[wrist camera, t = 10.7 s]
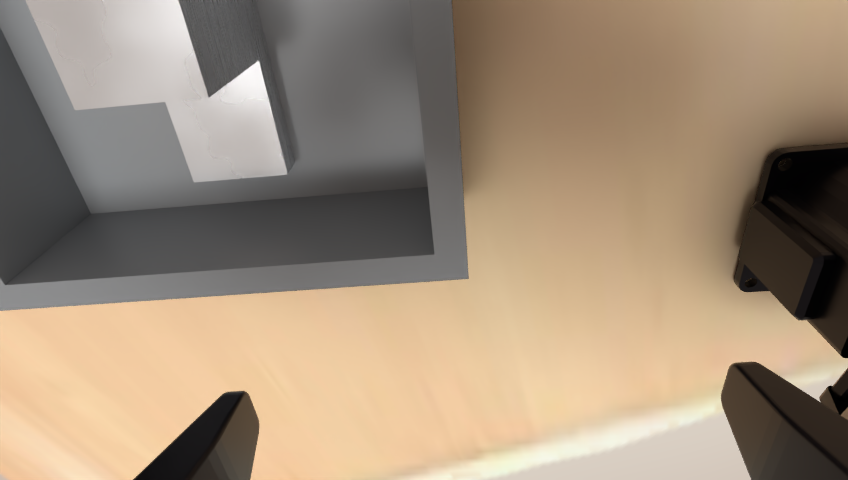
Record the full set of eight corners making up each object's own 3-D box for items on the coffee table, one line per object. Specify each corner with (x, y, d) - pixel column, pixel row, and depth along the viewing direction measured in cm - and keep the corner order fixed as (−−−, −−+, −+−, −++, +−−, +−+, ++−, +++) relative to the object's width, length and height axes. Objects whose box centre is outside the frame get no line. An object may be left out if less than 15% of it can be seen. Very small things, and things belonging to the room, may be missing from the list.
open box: (427, -318, 13) (424, -454, 9) (460, 200, 21) (468, 278, 16) (-147, -238, 14) (-435, -320, 10) (86, 229, 22) (-9, 311, 17)
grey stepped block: (236, -86, 15) (149, -93, 11) (295, 161, 20) (252, 235, 15) (124, -73, 16) (-9, -74, 11) (206, 169, 20) (135, 244, 15)
